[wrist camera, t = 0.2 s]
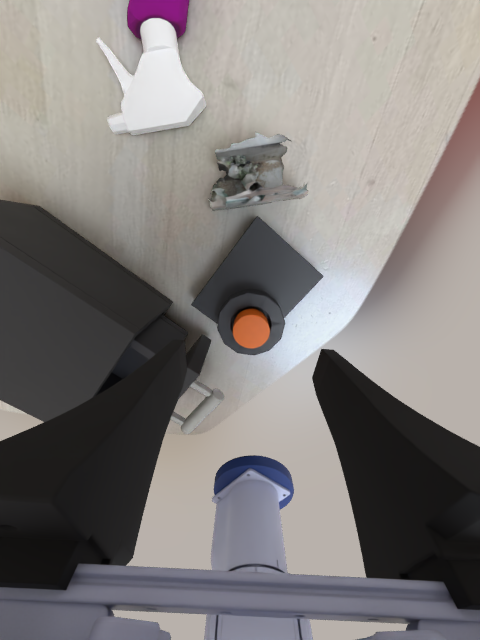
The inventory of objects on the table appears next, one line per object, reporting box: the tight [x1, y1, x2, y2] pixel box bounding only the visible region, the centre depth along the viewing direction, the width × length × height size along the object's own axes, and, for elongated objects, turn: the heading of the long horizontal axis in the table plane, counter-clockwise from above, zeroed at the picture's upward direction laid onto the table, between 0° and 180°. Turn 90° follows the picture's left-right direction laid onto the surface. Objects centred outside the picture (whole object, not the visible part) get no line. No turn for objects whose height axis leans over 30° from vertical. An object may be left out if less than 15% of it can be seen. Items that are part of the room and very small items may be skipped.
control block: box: [191, 216, 323, 355], centre depth 20 cm, size 10×9×4 cm
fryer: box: [0, 200, 173, 422], centre depth 18 cm, size 15×13×8 cm
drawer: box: [96, 314, 224, 434], centre depth 20 cm, size 18×11×6 cm, turn 51°
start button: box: [233, 309, 270, 348], centre depth 18 cm, size 3×3×2 cm
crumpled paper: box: [208, 132, 308, 211], centre depth 15 cm, size 4×8×7 cm, turn 98°
